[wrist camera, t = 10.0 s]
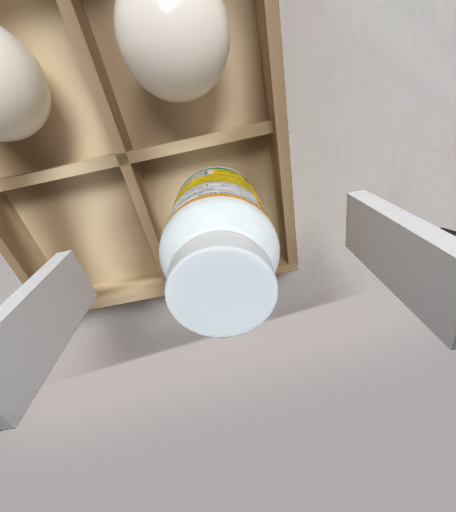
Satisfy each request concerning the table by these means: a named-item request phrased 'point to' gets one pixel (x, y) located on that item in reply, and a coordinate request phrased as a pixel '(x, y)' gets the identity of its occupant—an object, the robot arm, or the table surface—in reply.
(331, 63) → the table surface
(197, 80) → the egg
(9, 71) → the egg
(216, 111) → the wooden compartment tray
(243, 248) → the supplement bottle
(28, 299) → the robot arm
